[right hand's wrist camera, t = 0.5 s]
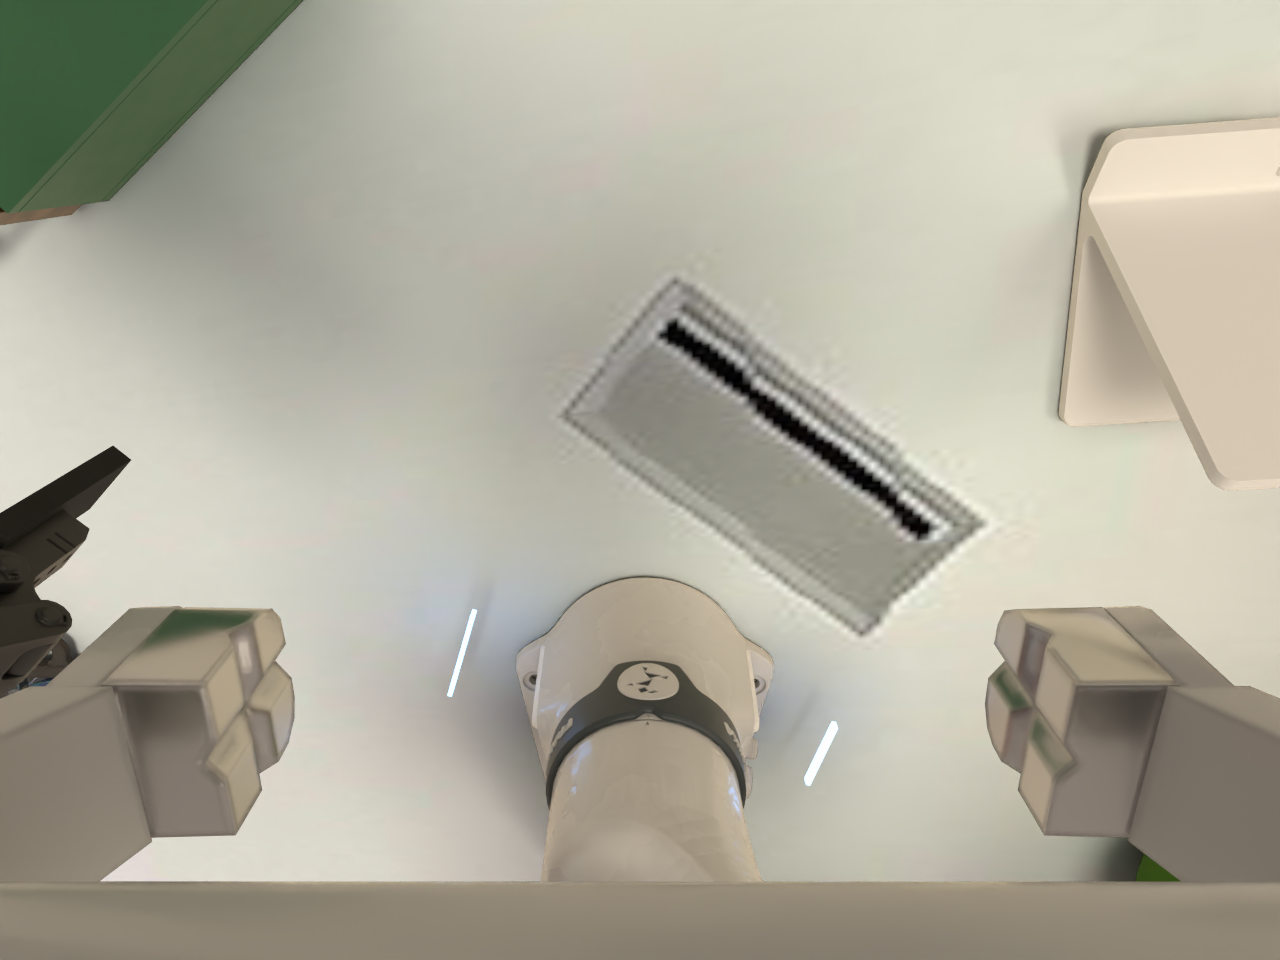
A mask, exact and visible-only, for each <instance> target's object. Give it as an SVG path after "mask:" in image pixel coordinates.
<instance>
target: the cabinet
mask: <svg viewBox="0 0 1280 960" xmlns="http://www.w3.org/2000/svg"><path fill="white" fill-rule="evenodd" d="M302 1H303V0H0V207H1V208H2V209H3V210H4V211H5V212H6V213H8V214H9V213H17V212H26V211H34V210H41V209H49V208H57V207H64V206H72V205H79V204H87V203H95V202H102V201H109V200H110V199H111V198H112V197H113V196H114V195H115V194H116V193H117V192H118V191H119V190H120V188H121V187H122V186H123V185H124V184H125V183H126V182H127V181H128V180H129V179H130V178H131V177H132V176H133V175H134V174H135V173H136V172H137V171H138V170H139V169H140V168H141V167H142V166H143V165H144V164H145V163H146V162H147V161H148V160H149V159H150V158H151V157H152V156H153V154H154V153H155V152H156V151H157V150H158V149H159V148H160V147H161V146H162V145H163V144H164V143H165V142H166V141H167V140H168V139H169V138H170V137H171V136H172V135H173V134H174V133H175V132H176V131H177V130H178V129H179V128H180V127H181V126H182V125H183V124H184V123H185V122H186V120H187V119H188V118H189V117H190V116H191V115H192V114H193V113H194V112H195V111H196V110H197V109H198V108H199V107H200V106H201V105H202V104H203V103H204V102H205V101H206V100H207V99H208V98H209V97H210V96H211V95H212V94H213V93H214V92H215V91H216V90H217V89H218V87H219V86H220V85H221V84H222V83H223V82H224V81H225V80H226V79H227V78H228V77H229V76H230V75H231V74H232V73H233V72H234V71H235V70H236V69H237V68H238V67H239V66H240V65H241V64H242V63H243V62H244V61H245V60H246V59H247V58H248V57H249V56H250V55H251V53H252V52H253V51H254V50H255V49H256V48H257V47H258V46H259V45H260V44H261V43H262V42H263V41H264V40H265V39H266V38H267V37H268V36H269V35H270V34H271V33H272V32H273V31H274V30H275V29H276V28H277V27H278V26H279V25H280V24H281V23H282V22H283V21H284V19H285V18H286V17H287V16H288V15H289V14H290V13H291V12H292V11H293V10H294V9H295V8H296V7H297V6H298V5H299V4H300V3H301V2H302Z"/></svg>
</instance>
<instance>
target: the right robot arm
mask: <svg viewBox="0 0 1280 960" xmlns="http://www.w3.org/2000/svg"><path fill="white" fill-rule="evenodd" d="M476 612H477V610H474V609H472V612H471V615H470V618H469V622H468V625H467V629H466V632H465V636H464V639H463V643H462V646H461V650H460V653H459V657H458V660H457V664H456V667H455V671H454V674H453V677H452V681H451V684H450V688H449V691H448V695H447V696H450V697H452V694H453V691H454V688H455V684H456V681H457V677H458V674H459V671H460V667H461V664H462V660H463V657H464V653H465V650H466V646H467V643H468V640H469V636H470V633H471V629H472V626H473V622H474V619H475V615H476ZM285 644H286V643H285V638H284V633H283V628H282V624H281V619H280V617H279V616H278V615H277V614H276V613H275V612H274V610H273V609H255V608H202V607H185V608H182V607H180V606H170V607H140V608H132V609H129V610H128V611H127V612H126V613H125V614H124V615H122V616H121V617H120V618H119V619H118V620H117V621H116V622H115V623H114V624H113V625H112V626H110V627H109V628H108V629H107V630H106V631H105V632H104V633H103V634H102V635H101V636H100V637H98V638H97V639H96V640H95V641H94V642H93V643H92V644H91V645H90V646H89V647H88V648H86V649H85V650H84V651H83V652H82V653H81V654H80V655H79V656H78V657H77V658H76V659H74V660H73V661H72V662H71V663H70V664H69V665H68V666H67V667H66V668H65V669H64V670H62V671H61V672H60V673H59V674H58V675H57V676H56V677H55V678H54V679H53V680H52V681H50V682H49V683H48V684H47V685H46V686H30V687H27V688H25V689H23V690H20V691H18V692H15V693H13V694H10V695H8V696H6V697H3V698H1V699H0V960H1280V699H1279V698H1277V697H1274V696H1272V695H1270V694H1267V693H1265V692H1262V691H1260V690H1257V689H1255V688H1253V687H1250V686H1234V685H1233V684H1232V683H1231V682H1230V681H1228V680H1227V679H1226V678H1225V677H1224V676H1223V675H1222V674H1221V673H1220V672H1219V671H1218V670H1217V669H1215V668H1214V667H1213V666H1212V665H1211V664H1210V663H1209V662H1208V661H1207V660H1206V659H1205V658H1204V657H1202V656H1201V655H1200V654H1199V653H1198V652H1197V651H1196V650H1195V649H1194V648H1193V647H1192V646H1190V645H1189V644H1188V643H1187V642H1186V641H1185V640H1184V639H1183V638H1182V637H1181V636H1180V635H1179V634H1177V633H1176V632H1175V631H1174V630H1173V629H1172V628H1171V627H1170V626H1169V625H1168V624H1167V623H1165V622H1164V621H1163V620H1162V619H1161V618H1160V617H1159V616H1158V615H1157V614H1156V613H1155V612H1154V611H1152V610H1151V609H1147V608H1144V607H1141V606H1129V607H1105V608H1103V607H1090V608H1048V609H1014V610H1007V611H1004V612H1003V614H1002V617H1001V619H1000V621H999V623H998V626H997V632H996V637H995V642H994V644H995V646H996V647H997V649H998V650H999V652H1000V654H1001V655H1002V657H1003V658H1004V660H1005V661H1004V662H1003V663H1002V665H1001V666H1000V667H999V668H998V669H997V670H996V671H995V672H994V673H993V674H992V675H991V676H990V677H989V678H988V685H987V693H986V700H985V709H986V720H987V729H988V732H989V735H990V738H991V741H992V745H993V747H994V749H995V750H996V752H997V754H998V756H999V758H1000V760H1001V761H1002V762H1003V763H1005V764H1006V765H1008V766H1010V767H1011V768H1013V769H1014V770H1016V771H1018V772H1019V773H1021V776H1020V781H1019V787H1018V791H1019V793H1020V794H1021V796H1022V798H1023V799H1024V801H1025V803H1026V805H1027V806H1028V808H1029V810H1030V811H1031V813H1032V815H1033V817H1034V818H1035V820H1036V822H1037V823H1038V825H1039V827H1040V828H1041V830H1042V832H1043V834H1044V835H1053V836H1089V837H1126V838H1128V842H1130V843H1131V844H1132V845H1134V846H1135V847H1136V848H1137V849H1139V850H1140V851H1141V852H1143V853H1144V854H1145V855H1147V856H1148V857H1149V858H1151V859H1152V860H1153V861H1155V862H1156V863H1157V864H1159V865H1160V866H1161V867H1163V868H1164V869H1165V870H1167V871H1168V872H1169V873H1171V874H1172V875H1173V876H1175V877H1176V878H1177V879H1179V880H1180V881H1181V882H763V880H762V878H761V876H760V874H759V871H758V868H757V865H756V861H755V858H754V854H753V851H752V847H751V843H750V839H749V835H748V831H747V827H746V822H745V817H744V812H743V808H744V804H745V799H746V798H749V796H750V793H751V789H752V781H753V773H752V768H751V767H749V765H745V760H746V758H748V759H755V758H756V756H757V752H758V741H757V739H754V738H753V735H754V732H757V731H758V730H759V717H760V714H761V711H762V708H763V705H764V702H765V699H766V695H767V692H768V689H769V686H770V683H771V680H772V677H773V673H774V668H773V660H772V658H771V656H770V655H769V654H768V653H767V652H766V651H764V650H763V649H762V648H760V647H759V646H757V645H755V644H754V643H752V642H750V641H749V640H747V639H745V638H744V637H743V636H742V635H741V634H740V633H739V631H738V630H737V629H736V627H735V626H734V624H733V623H732V621H731V620H730V618H729V617H728V616H727V614H726V613H725V612H724V611H723V610H722V609H721V607H719V606H718V605H717V604H716V603H715V602H714V601H713V600H711V599H710V598H709V597H707V596H706V595H704V594H703V593H701V592H700V591H698V590H696V589H694V588H692V587H690V586H687V585H685V584H682V583H679V582H675V581H671V580H666V579H660V578H648V577H644V578H630V579H623V580H619V581H615V582H611V583H608V584H606V585H603V586H601V587H598V588H596V589H594V590H592V591H590V592H589V593H587V594H585V595H584V596H582V597H581V598H580V599H578V600H577V601H576V602H575V603H574V604H572V605H571V606H570V607H569V608H568V609H567V611H566V612H565V613H564V614H563V615H562V617H561V618H560V619H559V621H558V622H557V623H556V625H555V626H554V627H553V628H552V629H551V631H549V632H548V633H547V634H546V635H544V636H542V637H540V638H539V639H537V640H535V641H533V642H531V643H530V644H528V645H527V646H525V647H524V648H523V649H521V650H520V651H519V653H518V654H517V657H516V672H517V676H518V679H519V683H520V687H521V691H522V694H523V698H524V702H525V706H526V709H527V713H528V717H529V721H530V724H531V728H532V732H533V736H534V739H535V743H536V747H537V751H538V754H539V758H540V762H541V766H542V769H543V773H544V777H545V781H546V796H547V804H548V807H549V810H550V813H549V821H548V829H547V836H546V844H545V852H544V860H543V868H542V875H541V882H99V881H100V880H102V879H103V878H104V877H106V876H107V875H108V874H110V873H111V872H112V871H114V870H115V869H116V868H118V867H119V866H120V865H122V864H123V863H124V862H126V861H127V860H128V859H130V858H131V857H132V856H134V855H135V854H136V853H138V852H139V851H140V850H142V849H143V848H144V847H146V846H147V845H148V844H149V843H151V842H152V839H151V838H154V837H189V836H225V835H236V834H237V832H238V830H239V829H240V827H241V825H242V823H243V822H244V820H245V818H246V817H247V815H248V813H249V811H250V810H251V808H252V806H253V805H254V803H255V801H256V799H257V798H258V796H259V794H260V793H261V791H262V787H261V781H260V776H259V773H261V772H262V771H264V770H266V769H267V768H269V767H270V766H272V765H274V764H275V763H277V762H278V761H279V760H280V758H281V756H282V754H283V752H284V750H285V748H286V747H287V745H288V743H289V738H290V734H291V730H292V726H293V722H294V699H295V697H294V690H293V684H292V678H291V677H290V676H289V675H288V674H287V673H286V672H285V671H284V670H283V669H282V668H281V667H280V666H279V665H278V663H277V662H276V661H275V660H276V658H277V657H278V655H279V654H280V652H281V650H282V649H283V647H284V646H285ZM532 675H537V679H534V678H532V677H531V676H532ZM754 679H757V681H756V682H755V683H754ZM837 729H838V727H837V724H836V722H834V721H832V722H831V724H830V726H829V728H828V730H827V732H826V734H825V736H824V738H823V740H822V743H821V745H820V747H819V749H818V751H817V753H816V755H815V757H814V759H813V761H812V763H811V765H810V767H809V769H808V771H807V773H806V776H805V778H804V779H805V783H806V785H809V786H810V785H811V783H812V781H813V778H814V776H815V774H816V772H817V770H818V768H819V766H820V764H821V762H822V760H823V758H824V756H825V754H826V752H827V750H828V748H829V746H830V744H831V742H832V740H833V738H834V736H835V734H836V732H837Z"/></svg>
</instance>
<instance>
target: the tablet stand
mask: <svg viewBox="0 0 1280 960" xmlns="http://www.w3.org/2000/svg"><path fill="white" fill-rule="evenodd" d="M1059 417H1060V419H1061V420H1062V421H1064V422H1065V423H1067V424H1068V425H1070V426H1073V427H1078V426H1093V425H1108V424H1123V423H1138V422H1153V421H1169V420H1181V422H1182V424H1183V426H1184V428H1185V430H1186V432H1187V434H1188V436H1189V439H1190V441H1191V443H1192V445H1193V447H1194V449H1195V451H1196V453H1197V455H1198V457H1199V460H1200V462H1201V464H1202V466H1203V468H1204V470H1205V472H1206V474H1207V476H1208V478H1209V480H1210V481H1211V482H1212V483H1213V484H1214V485H1215V486H1217V487H1219V488H1221V489H1224V490H1248V489H1264V488H1279V487H1280V117H1275V118H1261V119H1248V120H1234V121H1221V122H1207V123H1194V124H1180V125H1167V126H1153V127H1140V128H1126V129H1120V130H1117V131H1115V132H1113V133H1111V134H1110V135H1109V136H1108V137H1107V138H1106V139H1105V141H1104V142H1103V145H1102V147H1101V149H1100V152H1099V154H1098V157H1097V159H1096V161H1095V164H1094V166H1093V168H1092V171H1091V173H1090V176H1089V178H1088V180H1087V183H1086V185H1085V188H1084V190H1083V193H1082V202H1081V211H1080V220H1079V229H1078V238H1077V248H1076V257H1075V266H1074V275H1073V284H1072V294H1071V303H1070V312H1069V321H1068V330H1067V339H1066V349H1065V358H1064V367H1063V376H1062V385H1061V394H1060V404H1059Z"/></svg>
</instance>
